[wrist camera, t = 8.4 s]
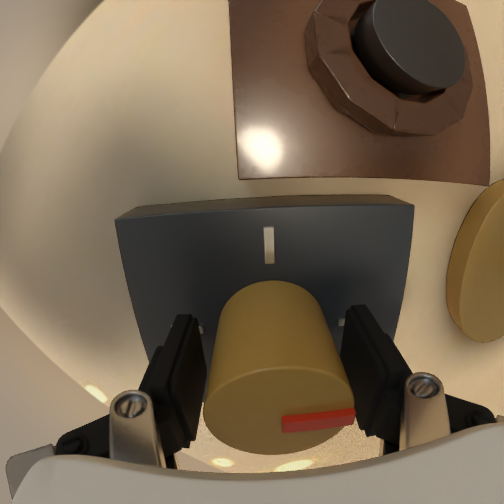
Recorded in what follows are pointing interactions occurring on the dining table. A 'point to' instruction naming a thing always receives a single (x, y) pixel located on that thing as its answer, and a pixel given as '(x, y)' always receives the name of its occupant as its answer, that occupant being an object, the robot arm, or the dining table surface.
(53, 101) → the dining table surface
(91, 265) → the dining table surface
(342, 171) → the switch block
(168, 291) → the dimmer panel
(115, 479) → the robot arm
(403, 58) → the power button
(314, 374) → the dimmer knob
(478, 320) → the lamp
